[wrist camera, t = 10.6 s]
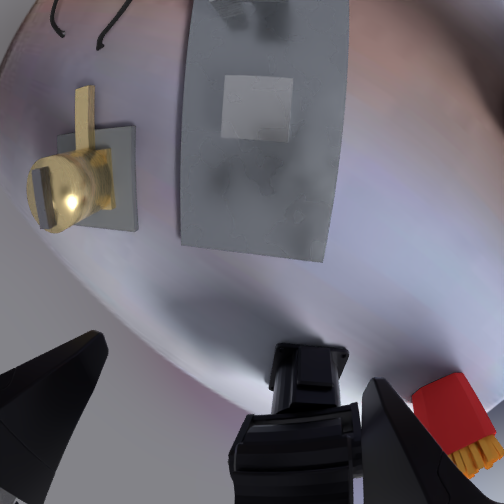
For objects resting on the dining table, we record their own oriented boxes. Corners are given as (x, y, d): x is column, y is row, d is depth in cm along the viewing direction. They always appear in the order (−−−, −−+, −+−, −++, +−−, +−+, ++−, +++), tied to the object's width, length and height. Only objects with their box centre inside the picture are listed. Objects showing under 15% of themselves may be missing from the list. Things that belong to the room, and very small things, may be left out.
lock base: (321, 257, 20) (328, 295, 15) (185, 240, 21) (157, 271, 16) (346, -3, 12) (360, -37, 7) (199, -8, 13) (173, -38, 8)
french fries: (406, 410, 26) (422, 501, 14) (403, 393, 25) (423, 495, 13) (470, 381, 23) (501, 464, 11) (473, 361, 22) (512, 451, 10)
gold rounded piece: (119, 211, 20) (71, 239, 14) (73, 210, 20) (26, 236, 15) (114, 80, 15) (59, 74, 10) (66, 94, 16) (13, 96, 11)
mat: (138, 229, 21) (134, 232, 20) (68, 221, 22) (64, 224, 21) (135, 125, 17) (131, 126, 17) (61, 134, 18) (57, 135, 18)
